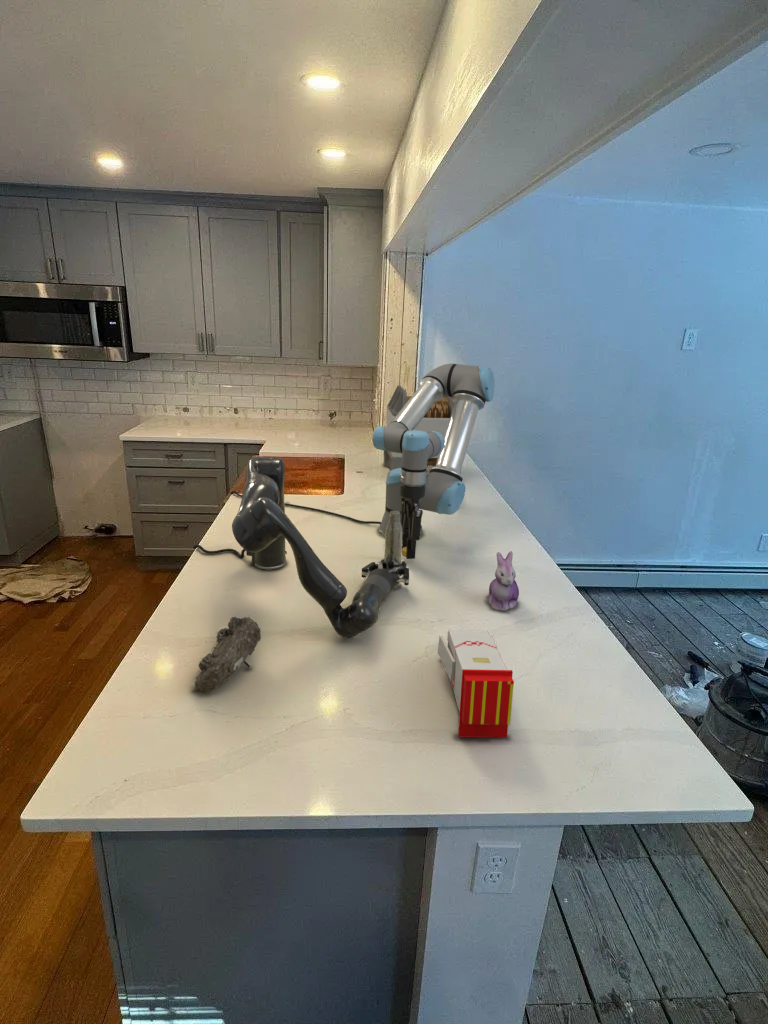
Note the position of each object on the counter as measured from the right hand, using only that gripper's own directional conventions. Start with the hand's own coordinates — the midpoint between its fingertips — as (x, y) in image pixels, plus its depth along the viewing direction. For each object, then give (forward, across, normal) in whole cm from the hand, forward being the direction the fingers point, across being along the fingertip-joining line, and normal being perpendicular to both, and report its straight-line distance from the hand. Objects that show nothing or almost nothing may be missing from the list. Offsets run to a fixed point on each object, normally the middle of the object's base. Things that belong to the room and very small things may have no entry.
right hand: (408, 555), depth 176 cm
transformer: (+2, -97, +38) cm, 104 cm away
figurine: (+3, +30, +18) cm, 35 cm away
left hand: (-3, +11, -8) cm, 14 cm away
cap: (-2, 0, 0) cm, 2 cm away
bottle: (+3, +13, -9) cm, 17 cm away
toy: (+3, +63, -7) cm, 63 cm away
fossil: (+3, +43, -54) cm, 69 cm away
